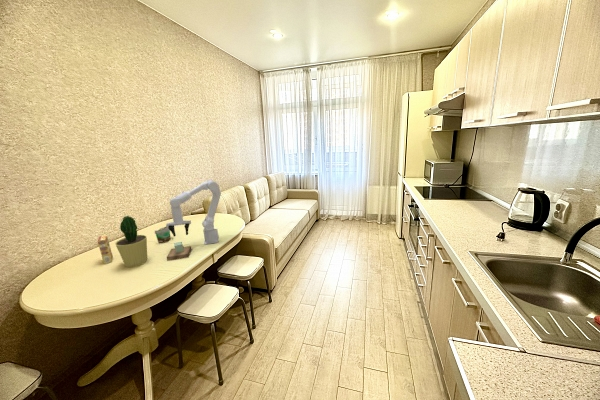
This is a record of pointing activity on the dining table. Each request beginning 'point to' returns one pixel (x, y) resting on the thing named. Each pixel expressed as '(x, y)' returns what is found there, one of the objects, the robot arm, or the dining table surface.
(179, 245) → the sage block
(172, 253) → the walnut box
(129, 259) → the potted cactus
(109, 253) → the candy box
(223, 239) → the dining table surface
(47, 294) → the dining table surface
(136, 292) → the dining table surface
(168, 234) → the food container
